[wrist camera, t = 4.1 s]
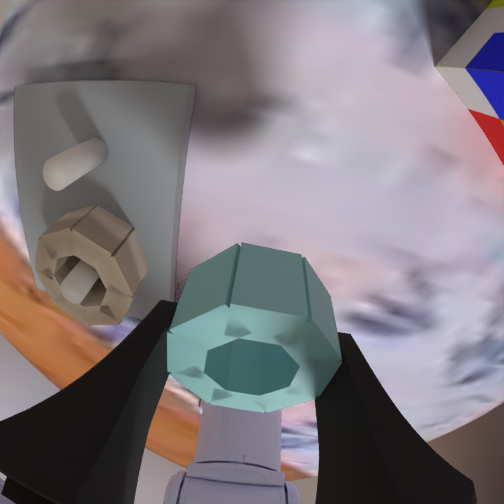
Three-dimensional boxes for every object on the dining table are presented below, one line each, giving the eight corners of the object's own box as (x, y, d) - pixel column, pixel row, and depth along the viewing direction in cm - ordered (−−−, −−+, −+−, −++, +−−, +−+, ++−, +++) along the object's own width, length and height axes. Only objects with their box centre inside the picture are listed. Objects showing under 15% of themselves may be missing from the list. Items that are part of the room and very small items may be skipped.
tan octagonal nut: (161, 291, 20) (147, 323, 17) (85, 298, 21) (68, 325, 18) (123, 197, 16) (98, 220, 14) (45, 219, 18) (20, 242, 15)
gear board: (174, 312, 23) (153, 368, 18) (46, 277, 22) (12, 319, 18) (197, 85, 14) (161, 89, 10) (29, 83, 14) (-31, 97, 9)
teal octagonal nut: (302, 358, 13) (304, 417, 11) (184, 337, 13) (168, 394, 10) (345, 263, 10) (364, 325, 8) (193, 233, 10) (167, 290, 8)
